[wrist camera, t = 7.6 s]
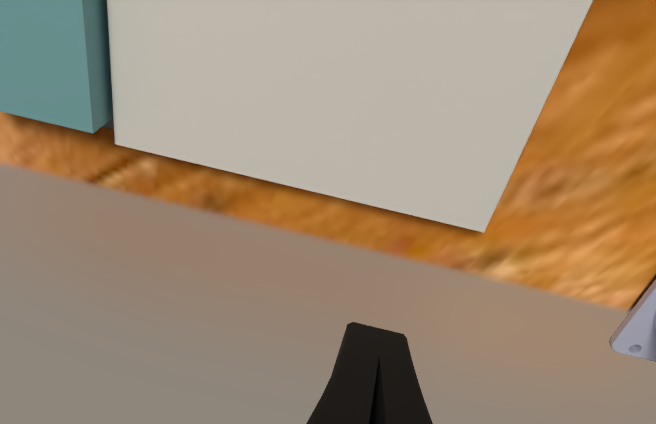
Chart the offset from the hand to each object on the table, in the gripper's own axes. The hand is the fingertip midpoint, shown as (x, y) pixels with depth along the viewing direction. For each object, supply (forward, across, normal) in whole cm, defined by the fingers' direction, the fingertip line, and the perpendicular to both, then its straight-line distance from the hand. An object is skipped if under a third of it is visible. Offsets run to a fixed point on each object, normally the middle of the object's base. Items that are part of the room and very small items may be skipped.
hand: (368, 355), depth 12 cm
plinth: (+9, +3, -5) cm, 11 cm away
